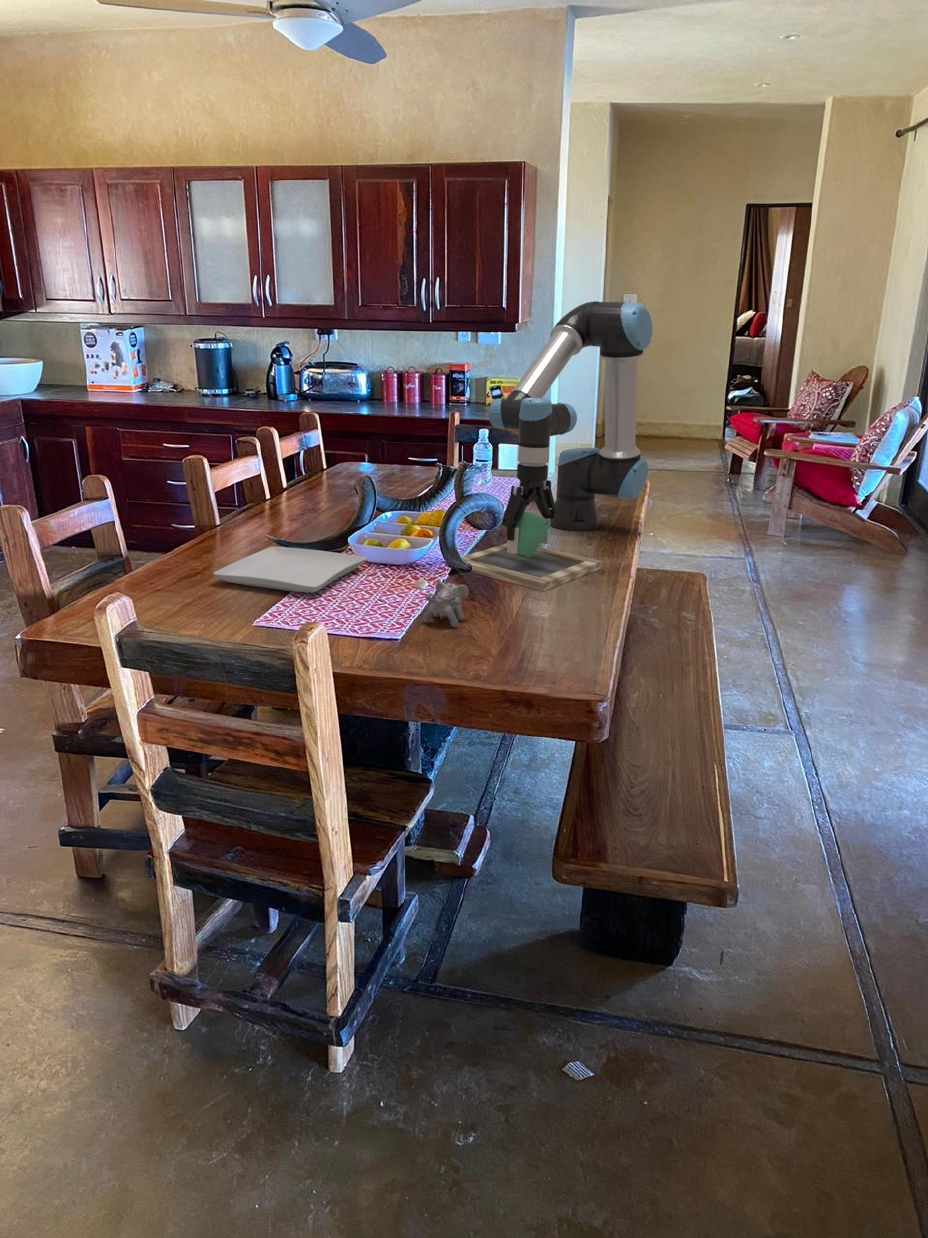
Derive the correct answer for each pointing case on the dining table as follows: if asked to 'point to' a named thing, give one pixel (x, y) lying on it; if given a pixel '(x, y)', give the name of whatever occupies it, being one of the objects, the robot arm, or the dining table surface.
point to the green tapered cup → (530, 533)
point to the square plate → (290, 569)
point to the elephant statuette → (447, 602)
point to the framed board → (531, 567)
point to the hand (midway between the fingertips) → (528, 548)
